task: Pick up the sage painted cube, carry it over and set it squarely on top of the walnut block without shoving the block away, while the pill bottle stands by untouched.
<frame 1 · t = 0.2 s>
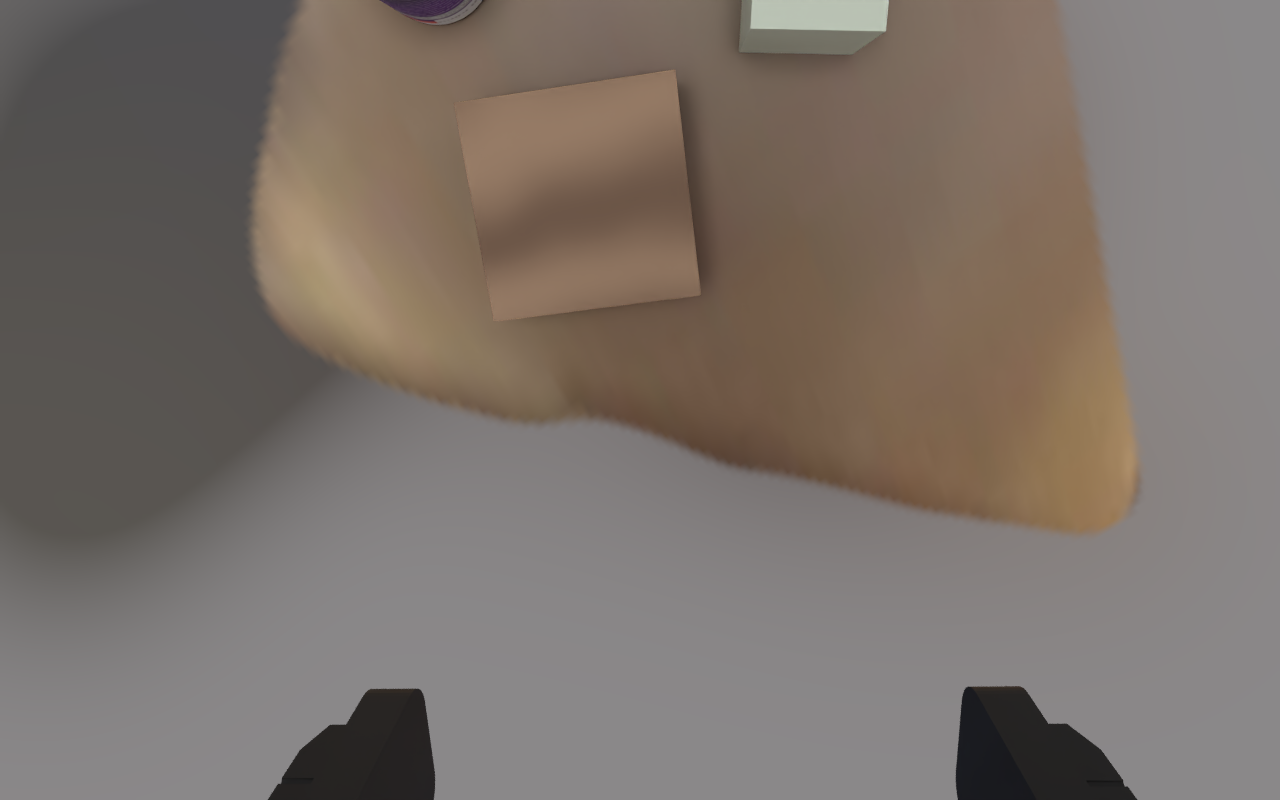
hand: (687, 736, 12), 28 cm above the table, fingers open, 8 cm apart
walnut block: (592, 198, 38), on the table
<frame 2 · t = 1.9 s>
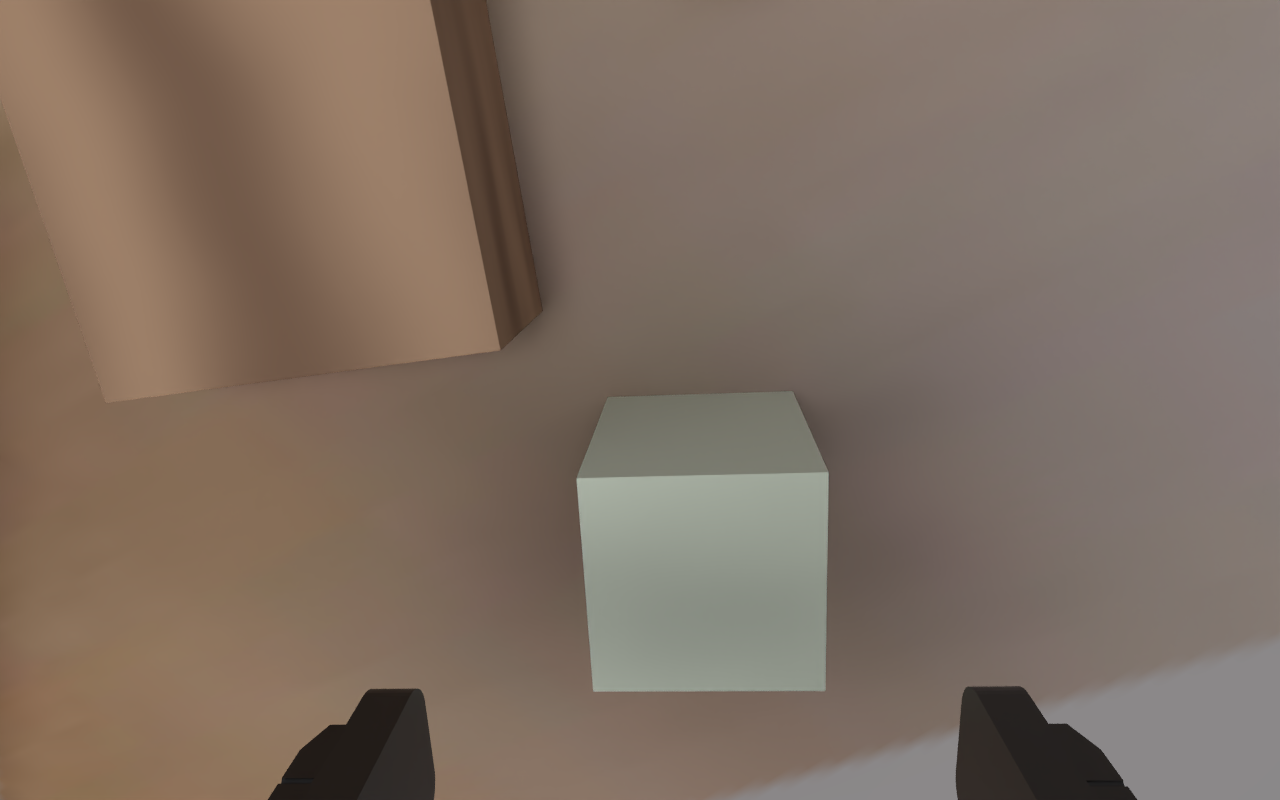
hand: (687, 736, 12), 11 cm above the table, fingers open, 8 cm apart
sage cube: (702, 479, 22), on the table
walnut block: (344, 162, 21), on the table
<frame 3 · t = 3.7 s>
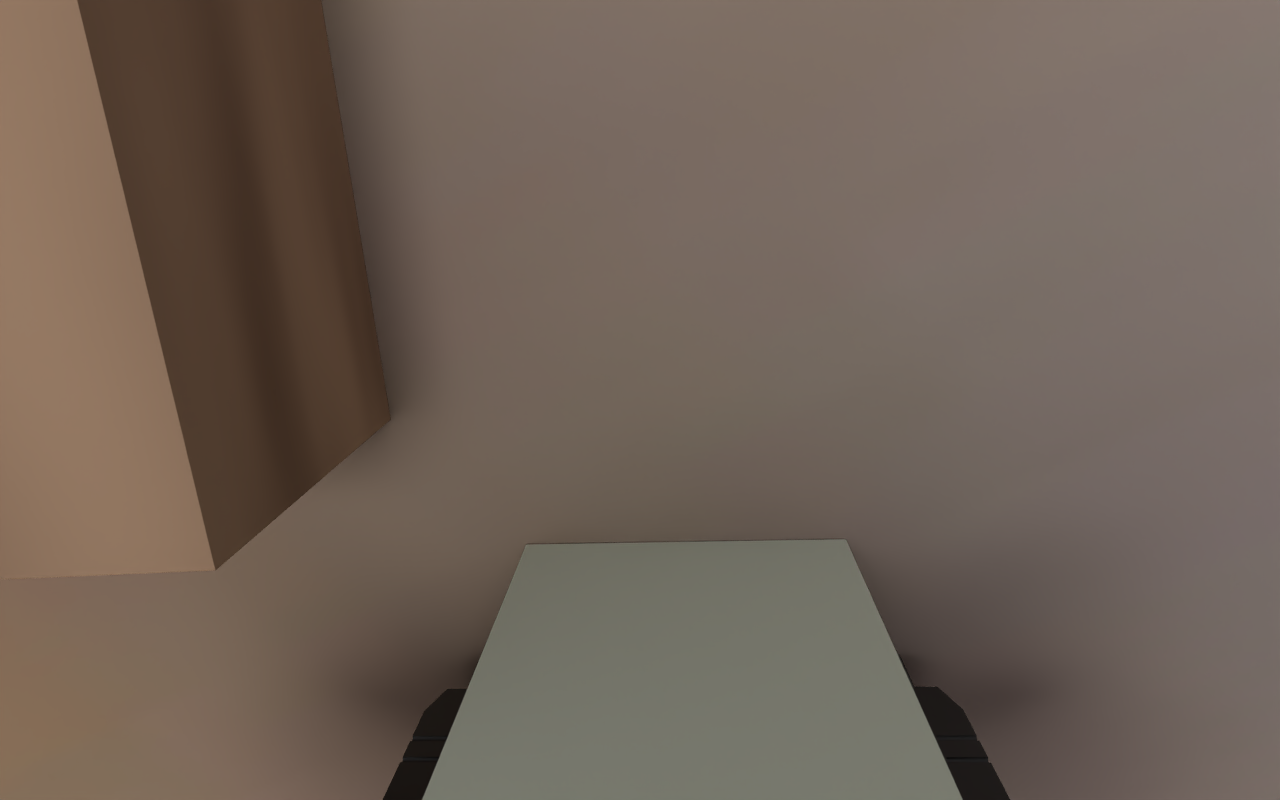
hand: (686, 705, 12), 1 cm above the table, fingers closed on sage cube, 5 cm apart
sage cube: (688, 679, 13), on the table, touching gripper
walnut block: (41, 132, 11), on the table
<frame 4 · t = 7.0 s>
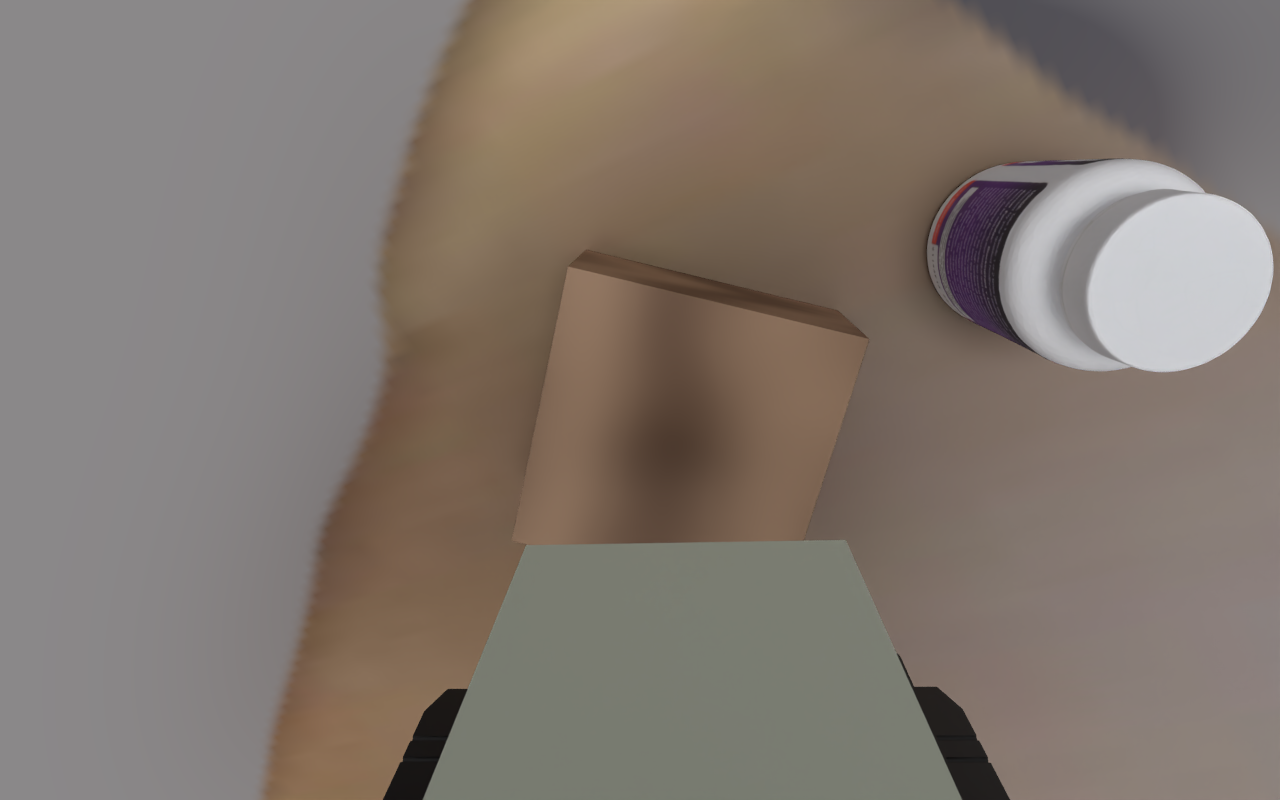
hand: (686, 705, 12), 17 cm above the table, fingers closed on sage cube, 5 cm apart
sage cube: (688, 679, 13), point 16 cm above the table, touching gripper
pill bottle: (1002, 244, 27), on the table
walnut block: (680, 399, 29), on the table
when the fingers open (7 cm above the table, at t = 10.3 s): sage cube drops 2 cm, resting on walnut block.
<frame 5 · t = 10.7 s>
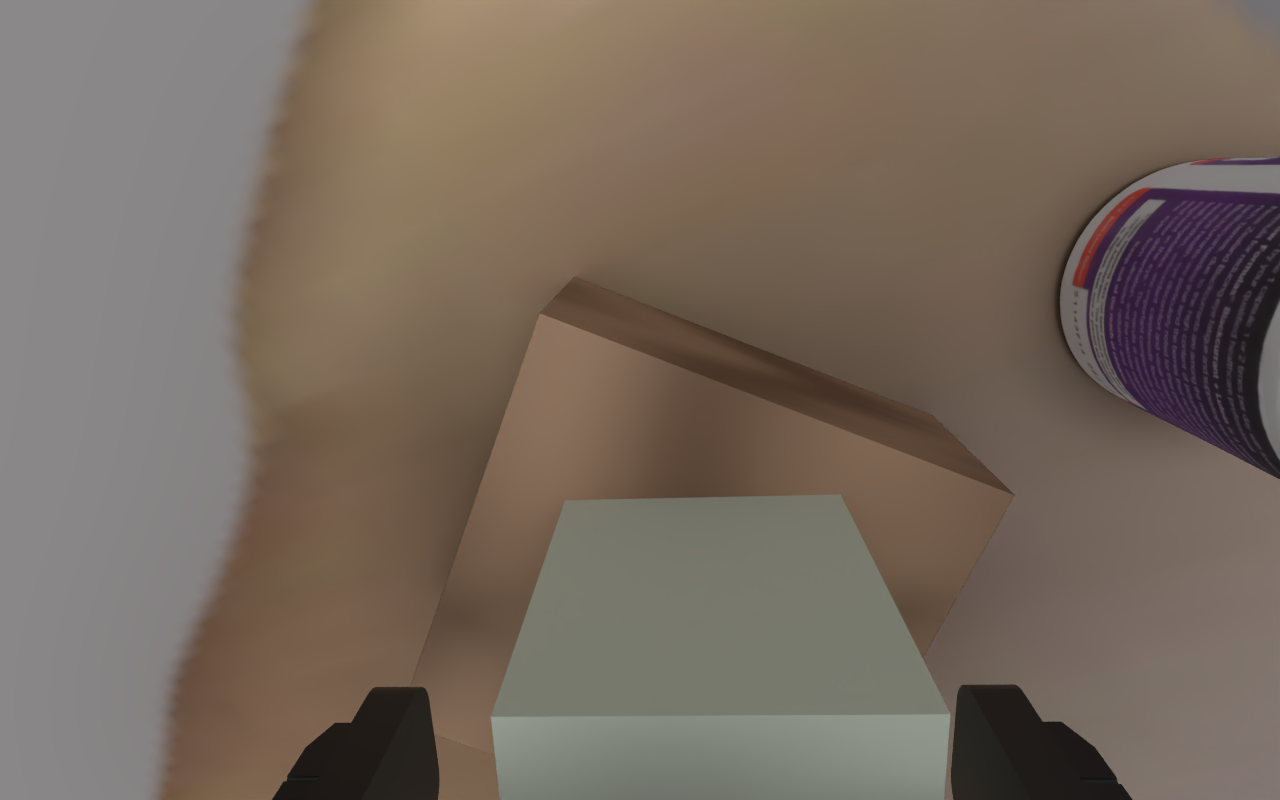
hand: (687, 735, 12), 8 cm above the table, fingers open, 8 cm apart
sage cube: (704, 618, 15), point 5 cm above the table, touching walnut block
pill bottle: (1173, 284, 18), on the table
walnut block: (684, 508, 20), on the table, touching sage cube
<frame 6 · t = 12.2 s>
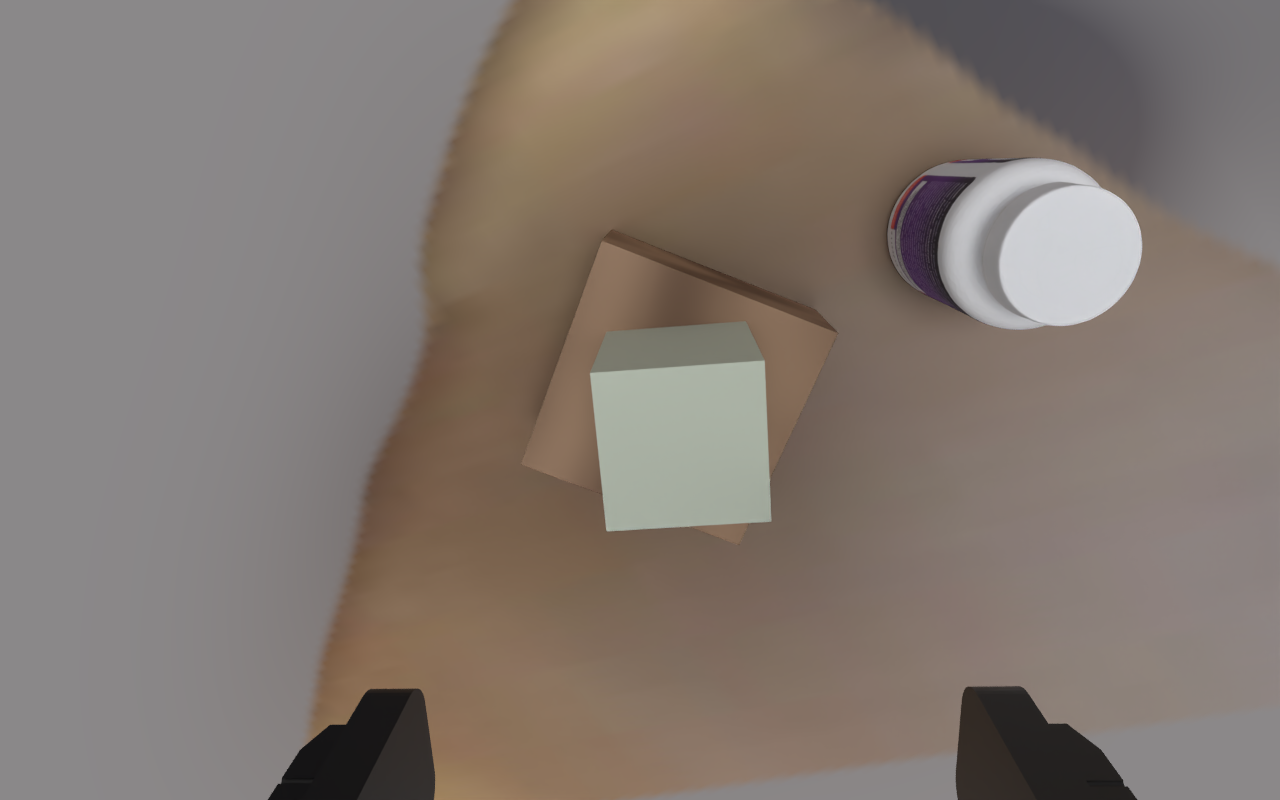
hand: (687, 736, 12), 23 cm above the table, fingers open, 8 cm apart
sage cube: (680, 393, 29), point 5 cm above the table, touching walnut block
pill bottle: (951, 229, 32), on the table
walnut block: (674, 367, 34), on the table, touching sage cube
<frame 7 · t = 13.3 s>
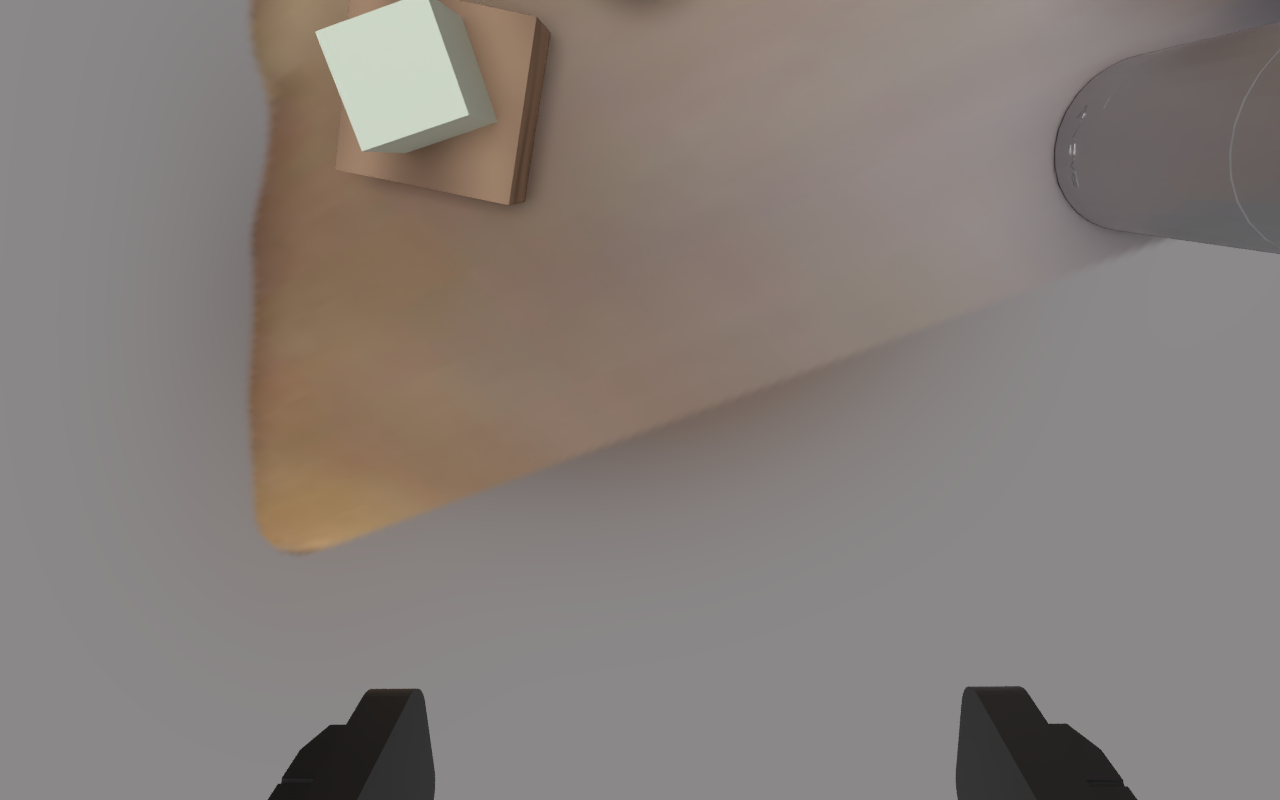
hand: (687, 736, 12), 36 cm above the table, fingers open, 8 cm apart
sage cube: (433, 86, 39), point 5 cm above the table, touching walnut block
walnut block: (458, 103, 44), on the table, touching sage cube
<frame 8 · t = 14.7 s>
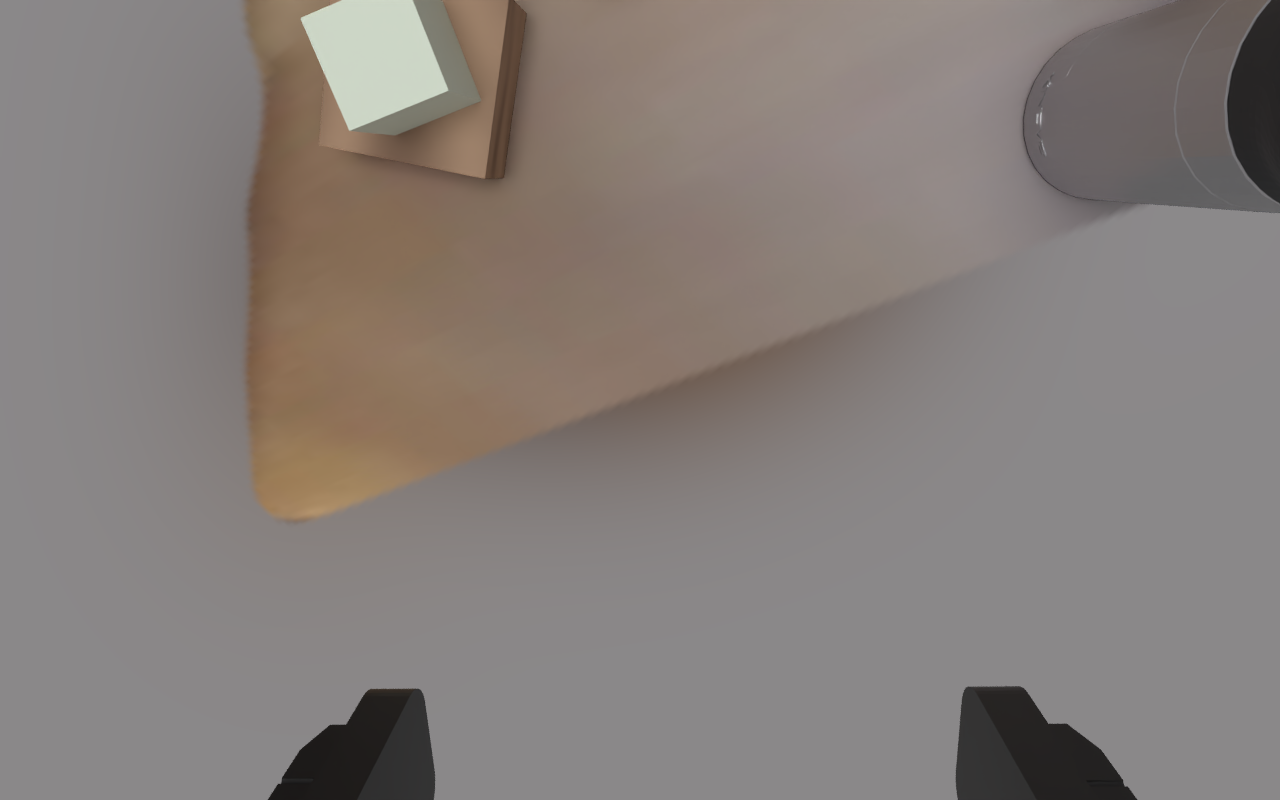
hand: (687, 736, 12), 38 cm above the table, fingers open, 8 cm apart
sage cube: (418, 70, 41), point 5 cm above the table, touching walnut block
walnut block: (439, 82, 46), on the table, touching sage cube
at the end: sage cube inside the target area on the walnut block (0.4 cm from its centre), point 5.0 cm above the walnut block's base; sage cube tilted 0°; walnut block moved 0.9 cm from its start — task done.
